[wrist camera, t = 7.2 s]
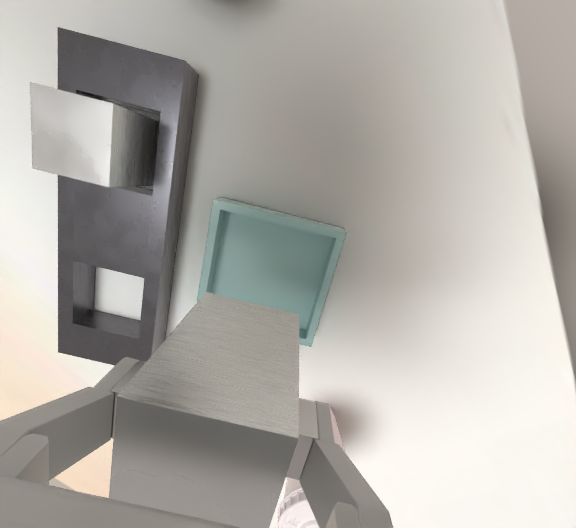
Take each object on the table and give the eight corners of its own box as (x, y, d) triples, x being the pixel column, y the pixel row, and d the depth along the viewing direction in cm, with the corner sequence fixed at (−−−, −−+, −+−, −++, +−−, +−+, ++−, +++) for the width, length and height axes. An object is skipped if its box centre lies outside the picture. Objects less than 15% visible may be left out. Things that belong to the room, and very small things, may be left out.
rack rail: (87, 45, 20) (57, 27, 17) (198, 74, 20) (184, 60, 18) (79, 336, 27) (58, 352, 24) (162, 356, 27) (149, 373, 25)
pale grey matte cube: (206, 291, 13) (116, 396, 7) (299, 314, 13) (298, 438, 7) (192, 370, 14) (107, 521, 8) (277, 390, 14) (260, 554, 8)
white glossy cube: (110, 111, 21) (30, 82, 15) (168, 125, 21) (113, 103, 15) (107, 171, 22) (32, 168, 16) (162, 185, 22) (108, 187, 16)
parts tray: (221, 197, 22) (213, 199, 20) (342, 227, 23) (346, 232, 21) (202, 308, 25) (194, 319, 23) (310, 333, 26) (311, 346, 24)
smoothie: (271, 412, 28) (245, 621, 15) (321, 379, 27) (341, 577, 14) (311, 451, 30) (320, 676, 16) (361, 421, 28) (415, 640, 15)
